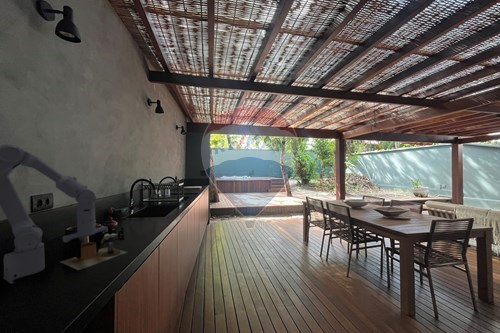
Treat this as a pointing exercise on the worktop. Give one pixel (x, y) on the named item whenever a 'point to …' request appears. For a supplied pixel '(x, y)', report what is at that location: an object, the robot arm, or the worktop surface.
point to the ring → (88, 250)
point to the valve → (120, 233)
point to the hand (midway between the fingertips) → (87, 254)
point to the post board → (100, 257)
